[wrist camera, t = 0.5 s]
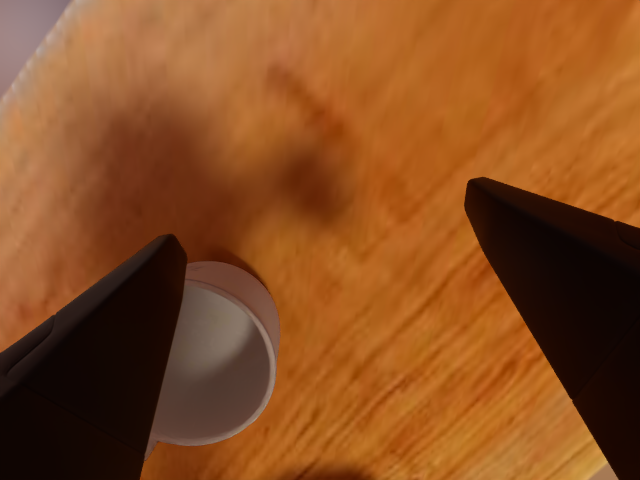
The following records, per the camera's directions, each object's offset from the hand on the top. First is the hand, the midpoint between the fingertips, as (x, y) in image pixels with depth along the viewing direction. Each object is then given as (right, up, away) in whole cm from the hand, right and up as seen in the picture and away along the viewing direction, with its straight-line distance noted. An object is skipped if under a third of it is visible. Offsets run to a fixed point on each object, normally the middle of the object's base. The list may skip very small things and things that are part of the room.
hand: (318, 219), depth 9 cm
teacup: (-9, -8, +17) cm, 20 cm away
